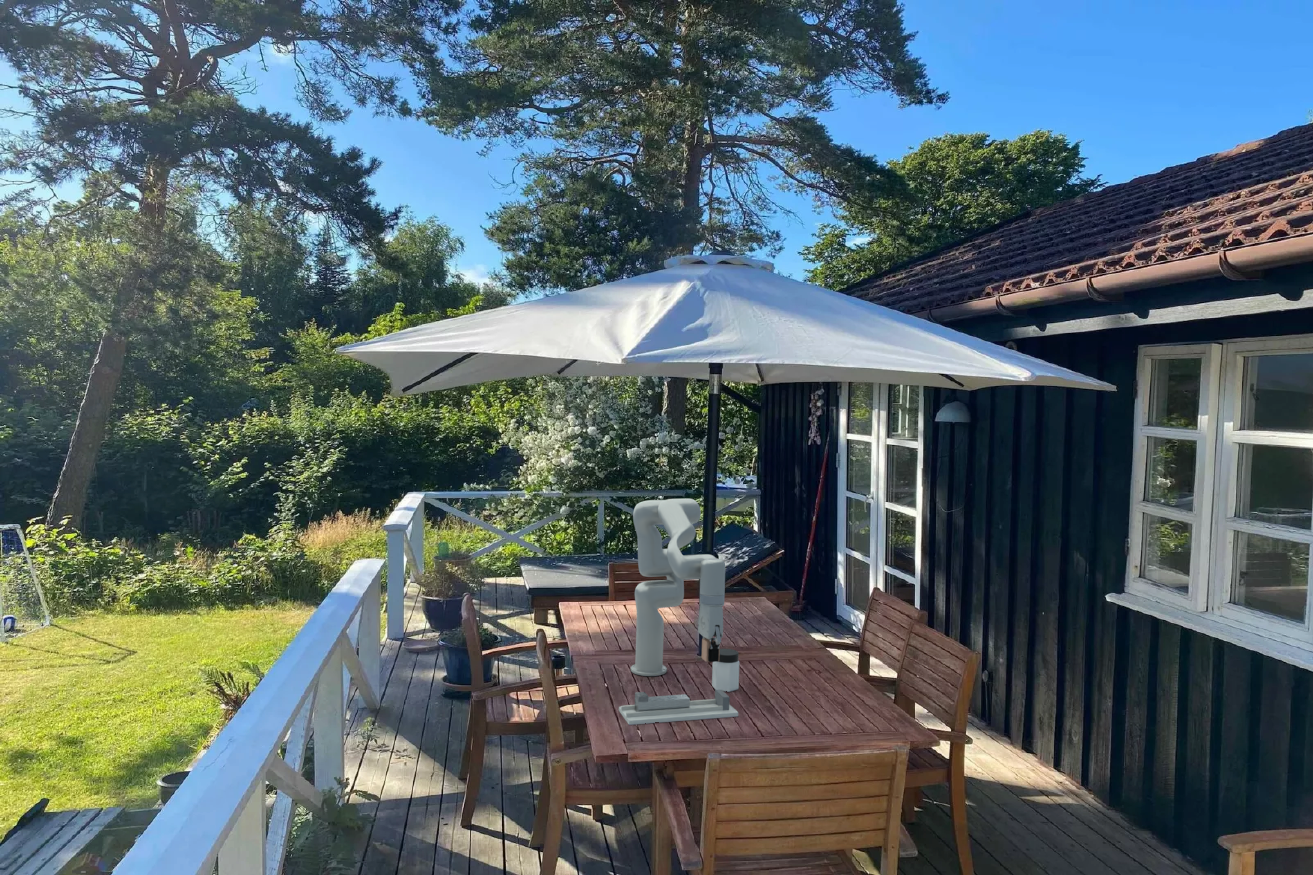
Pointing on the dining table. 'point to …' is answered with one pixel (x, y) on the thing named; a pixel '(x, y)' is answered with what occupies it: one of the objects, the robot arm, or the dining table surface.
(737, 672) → the jar
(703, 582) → the robot arm
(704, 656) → the block
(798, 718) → the dining table surface
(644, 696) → the grey sliding carriage block
